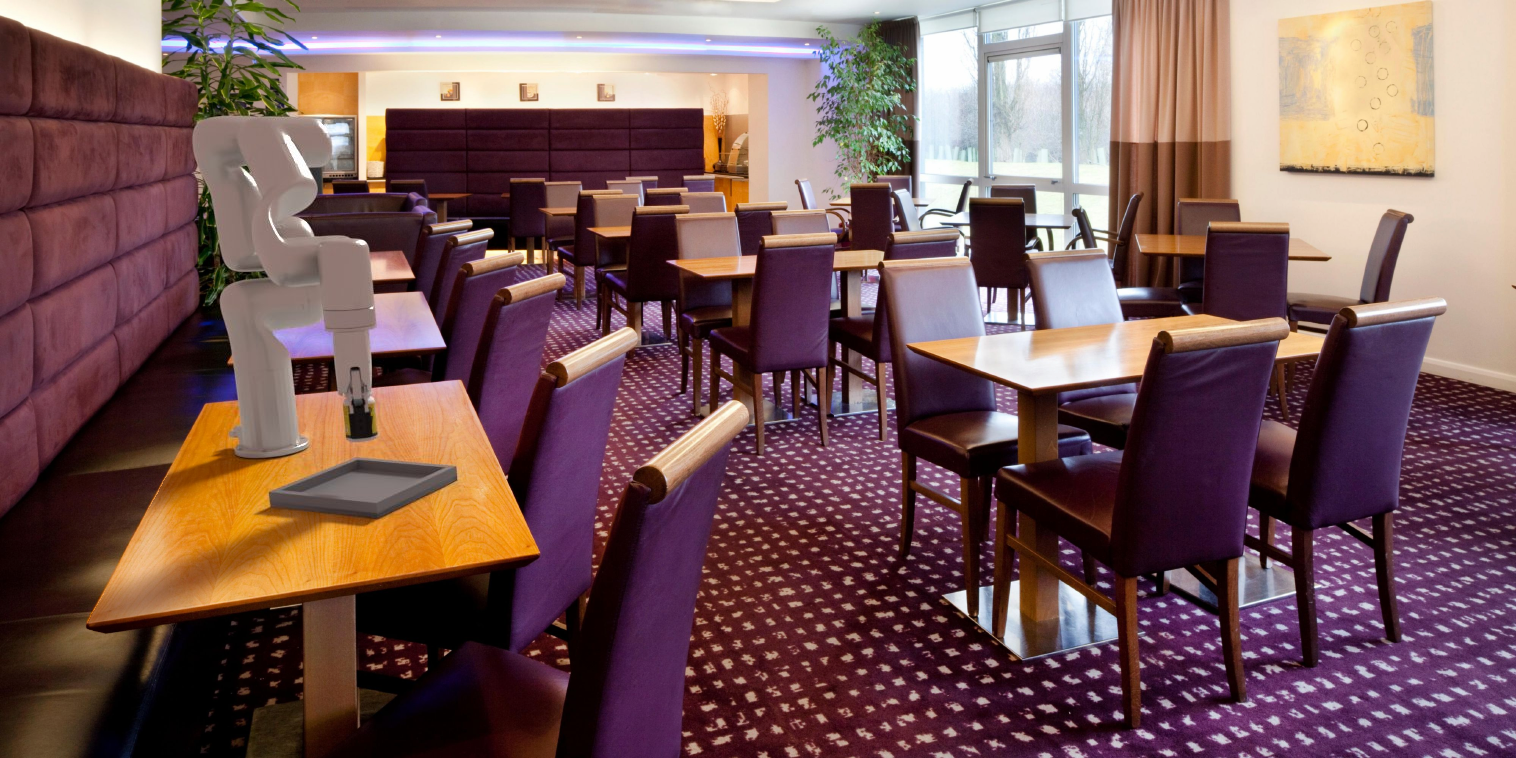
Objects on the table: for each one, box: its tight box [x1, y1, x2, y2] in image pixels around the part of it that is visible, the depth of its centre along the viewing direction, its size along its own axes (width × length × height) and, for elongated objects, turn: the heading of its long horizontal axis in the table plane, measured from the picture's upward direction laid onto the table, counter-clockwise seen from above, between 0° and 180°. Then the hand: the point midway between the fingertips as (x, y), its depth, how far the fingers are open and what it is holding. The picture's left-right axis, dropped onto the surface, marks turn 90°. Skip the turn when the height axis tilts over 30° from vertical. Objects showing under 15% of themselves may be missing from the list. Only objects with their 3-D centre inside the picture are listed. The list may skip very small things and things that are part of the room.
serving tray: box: [268, 456, 458, 519], centre depth 168 cm, size 20×20×2 cm
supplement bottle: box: [342, 389, 379, 443], centre depth 166 cm, size 5×5×8 cm
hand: (361, 432), depth 166 cm, fingers closed on supplement bottle, 4 cm apart
